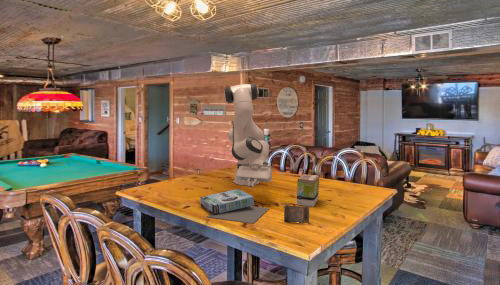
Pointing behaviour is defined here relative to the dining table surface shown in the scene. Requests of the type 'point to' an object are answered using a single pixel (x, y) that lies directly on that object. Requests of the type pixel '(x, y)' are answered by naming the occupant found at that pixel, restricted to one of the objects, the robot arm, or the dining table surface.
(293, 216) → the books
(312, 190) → the tea box
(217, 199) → the gum box
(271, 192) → the dining table surface
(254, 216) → the mat
